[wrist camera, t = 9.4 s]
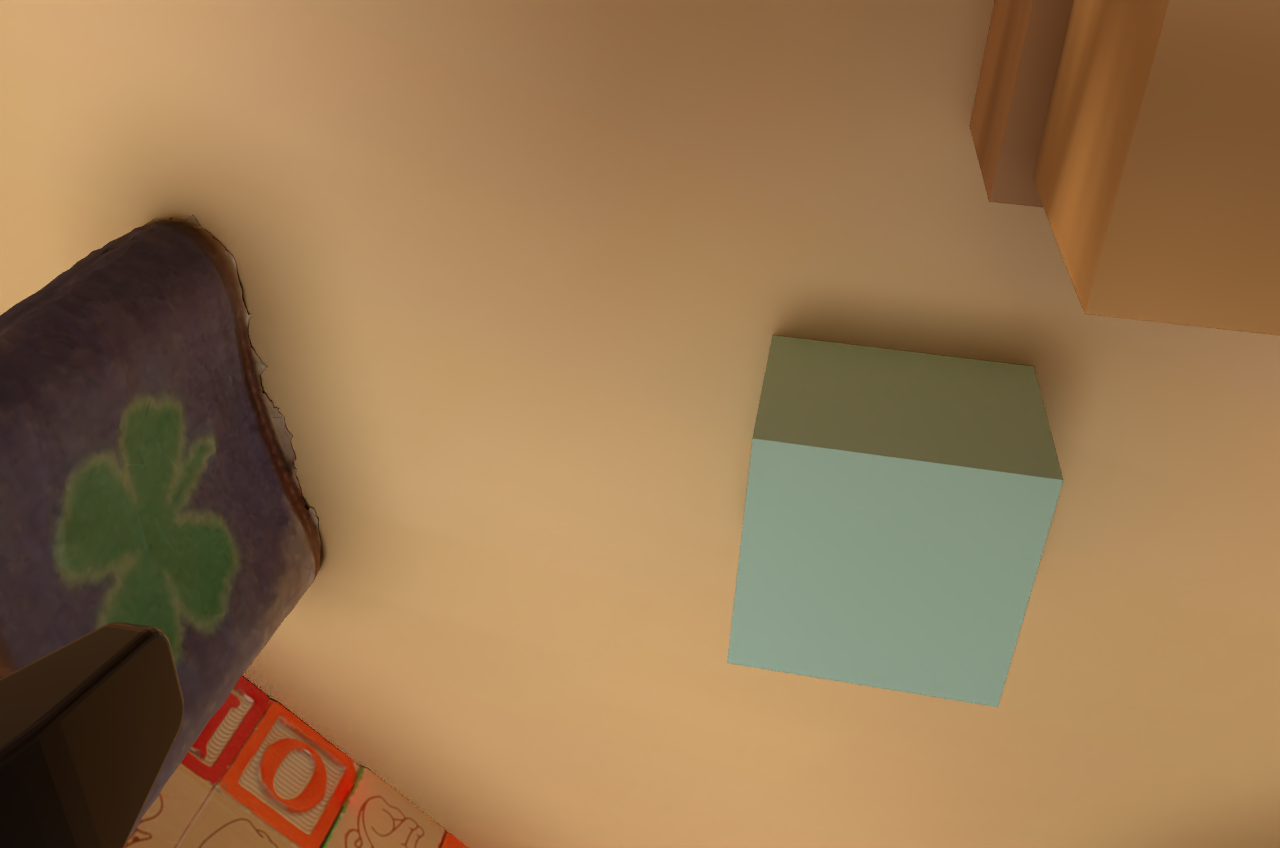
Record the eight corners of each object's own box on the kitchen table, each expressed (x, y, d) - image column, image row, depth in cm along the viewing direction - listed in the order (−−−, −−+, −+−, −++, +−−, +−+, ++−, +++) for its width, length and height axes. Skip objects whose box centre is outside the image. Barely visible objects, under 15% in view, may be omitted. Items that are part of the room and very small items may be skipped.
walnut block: (1391, -187, 15) (1536, -177, 12) (1273, 152, 18) (1365, 241, 14) (1035, -206, 16) (1077, -202, 13) (969, 123, 18) (989, 202, 15)
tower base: (1032, 363, 20) (1063, 479, 17) (980, 569, 23) (998, 707, 19) (773, 332, 21) (752, 438, 18) (749, 534, 23) (727, 662, 20)
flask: (340, 582, 26) (51, 1008, 17) (229, 578, 27) (-106, 988, 18) (226, 208, 22) (-246, 515, 13) (97, 215, 22) (-441, 512, 13)
